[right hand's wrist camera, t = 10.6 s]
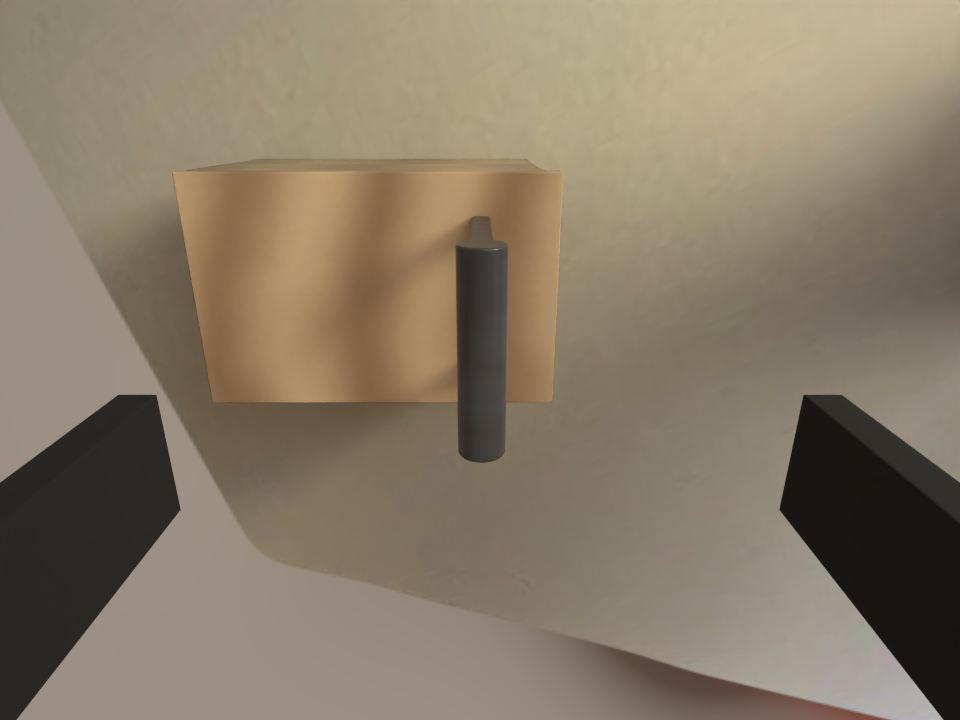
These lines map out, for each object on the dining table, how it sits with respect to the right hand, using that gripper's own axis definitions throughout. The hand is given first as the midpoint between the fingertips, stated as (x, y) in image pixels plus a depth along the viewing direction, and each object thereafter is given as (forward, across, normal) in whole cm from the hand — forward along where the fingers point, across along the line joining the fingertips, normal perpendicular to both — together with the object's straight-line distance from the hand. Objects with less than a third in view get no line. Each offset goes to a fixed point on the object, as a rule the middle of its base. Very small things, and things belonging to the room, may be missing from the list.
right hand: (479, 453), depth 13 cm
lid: (+14, -4, 0) cm, 14 cm away
